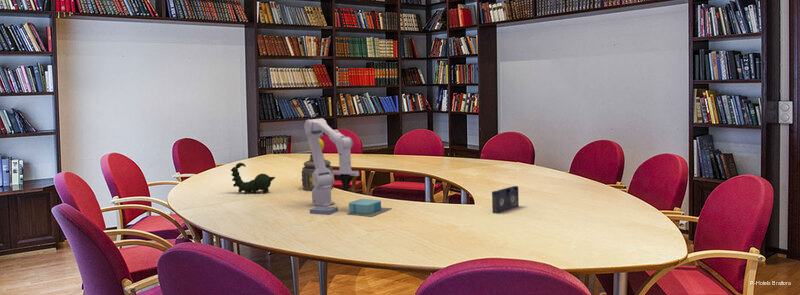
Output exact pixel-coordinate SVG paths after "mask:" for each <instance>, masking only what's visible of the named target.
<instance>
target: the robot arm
mask: <svg viewBox="0 0 800 295" xmlns="http://www.w3.org/2000/svg"><path fill="white" fill-rule="evenodd" d="M303 128H304V131H305V136H306V137H307V140H308V144H309V145H310V149H311V151H310V154H311V153H312V157H313V161H314V165H315V169H316V170H315V171H314V172H313V174H312V177H313V185H314V186H315V187H314V188H313V190H312V191H311V200H312V201H311V202H312V203H311V204H310V205H311V206H324V207H329V206H331V205H334V204H335V203H336V202H335V201H332V192H331V191H332V188H331V187H332V184H333V183H334V184H335V177H333V175H334V176H335V175H336V176H337V175H338V178H339V181H340V182H341V185H342V188H343V191H348V190H349V188H350V184H351V181H352V179H353V176H354V177H359V176H360V171H356V170H352V157H351V153H352V152H351V149H352V148H353V146H354V145H353V144H354V141H353V139H352V138H351V136H345V134H342V133H341V132H340V131H339V130H338V129H332V127H331V126H329V125H328V123H327V120H325V119H324V118H322V117H320V118H314V119H306V120H305V122H304V125H303ZM323 133H324V134H325V135H327V136H328V139H329V140H330V141H331V142H332V143H333V144H335V146H336V149H337V153H338V160H339V161H338V166H339V169H338V170H337V169H333V171H332V174H331V170H329V169H328V168H326V166H325V162H324V160H325V157H324V153H322V152H323V150H321V146H320V143H319V138H320V136H322V135H323ZM310 149H309V150H310ZM323 157H324V158H323ZM321 174H323V175H321Z"/></svg>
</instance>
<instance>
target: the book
mask: <svg viewBox="0 0 800 295" xmlns="http://www.w3.org/2000/svg"><path fill="white" fill-rule="evenodd" d="M337 212H339V207H338V206H319V205H316V206H315V207H313V208H309V214H312V215H314V214H315V215H329V216H330V215H333V214H335V213H337Z"/></svg>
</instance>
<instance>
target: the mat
mask: <svg viewBox="0 0 800 295" xmlns="http://www.w3.org/2000/svg"><path fill="white" fill-rule="evenodd" d="M391 210H392V207H382V206H381V210H379V211H376V212H374V213H371V214H359V213H351V212H348V213H347V215H349V216H350V215H351V216H359V217H370V218H373V217H375V216H379V215H380V214H383V213H385V212H388V211H391Z"/></svg>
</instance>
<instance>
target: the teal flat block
mask: <svg viewBox="0 0 800 295" xmlns="http://www.w3.org/2000/svg"><path fill="white" fill-rule="evenodd" d="M381 207H382V200H380V199H371V198H370V199H369V198H360V199H356V200H353V201H350V202H349V203H348V213H359V214H371V213H374V212H376V211H379V210H381Z"/></svg>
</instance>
